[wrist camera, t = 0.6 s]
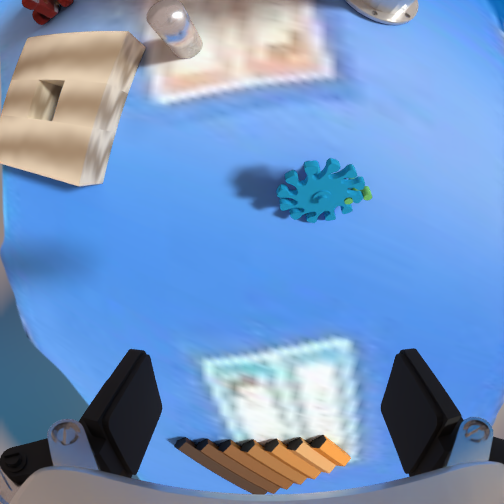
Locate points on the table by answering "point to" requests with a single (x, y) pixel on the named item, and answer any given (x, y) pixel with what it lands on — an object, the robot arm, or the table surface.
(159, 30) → the steel peg
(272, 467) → the pan flute
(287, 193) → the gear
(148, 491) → the robot arm
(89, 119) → the hole block
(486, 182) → the table surface
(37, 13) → the toy fire truck
